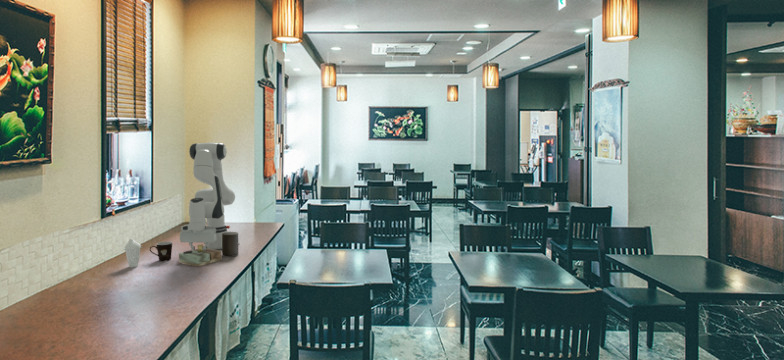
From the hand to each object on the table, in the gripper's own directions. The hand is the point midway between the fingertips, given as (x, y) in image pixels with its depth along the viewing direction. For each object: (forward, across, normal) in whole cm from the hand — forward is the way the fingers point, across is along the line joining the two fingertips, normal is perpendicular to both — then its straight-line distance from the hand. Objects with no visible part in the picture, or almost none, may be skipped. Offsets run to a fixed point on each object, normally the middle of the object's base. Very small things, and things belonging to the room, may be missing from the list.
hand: (198, 249), depth 269 cm
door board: (+8, +1, -4) cm, 9 cm away
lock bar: (+2, 0, -4) cm, 5 cm away
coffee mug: (+8, +25, -7) cm, 27 cm away
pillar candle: (+8, -11, -20) cm, 25 cm away
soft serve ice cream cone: (+8, +34, +8) cm, 36 cm away
